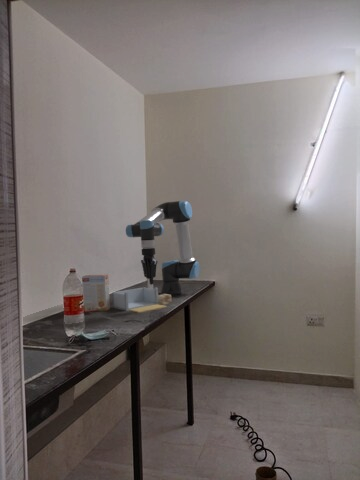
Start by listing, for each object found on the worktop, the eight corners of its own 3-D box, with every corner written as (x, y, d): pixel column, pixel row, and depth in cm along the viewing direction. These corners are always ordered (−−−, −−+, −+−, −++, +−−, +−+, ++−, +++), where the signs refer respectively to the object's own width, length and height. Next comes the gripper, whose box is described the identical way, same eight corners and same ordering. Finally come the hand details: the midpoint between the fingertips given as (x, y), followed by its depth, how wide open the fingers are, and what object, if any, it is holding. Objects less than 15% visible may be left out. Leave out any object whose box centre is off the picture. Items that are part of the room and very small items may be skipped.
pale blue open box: (144, 303, 242) (143, 285, 242) (158, 306, 231) (157, 287, 231) (113, 309, 229) (112, 290, 228) (126, 312, 217) (125, 293, 217)
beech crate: (165, 303, 239) (164, 293, 239) (172, 304, 234) (171, 294, 234) (157, 305, 235) (156, 295, 235) (163, 306, 230) (163, 296, 230)
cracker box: (110, 310, 227) (108, 274, 226) (106, 312, 221) (104, 275, 220) (88, 310, 230) (86, 274, 229) (83, 312, 224) (81, 276, 223)
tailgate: (157, 304, 230) (166, 305, 222) (157, 306, 230) (166, 308, 222) (129, 309, 218) (138, 311, 210) (129, 312, 218) (139, 314, 210)
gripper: (136, 248, 219) (138, 289, 220) (149, 248, 209) (151, 292, 210) (147, 247, 224) (149, 287, 225) (160, 247, 214) (163, 290, 215)
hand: (150, 289), depth 218 cm, fingers closed
